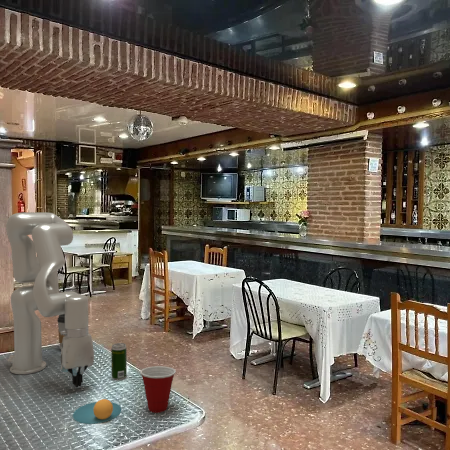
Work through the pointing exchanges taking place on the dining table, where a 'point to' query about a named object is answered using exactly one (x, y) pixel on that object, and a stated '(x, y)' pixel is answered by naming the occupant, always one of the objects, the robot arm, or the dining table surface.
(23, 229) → the robot arm
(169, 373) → the plastic cup
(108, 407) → the ball
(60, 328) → the coffee cup
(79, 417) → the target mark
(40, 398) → the dining table surface
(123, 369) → the green soda can
